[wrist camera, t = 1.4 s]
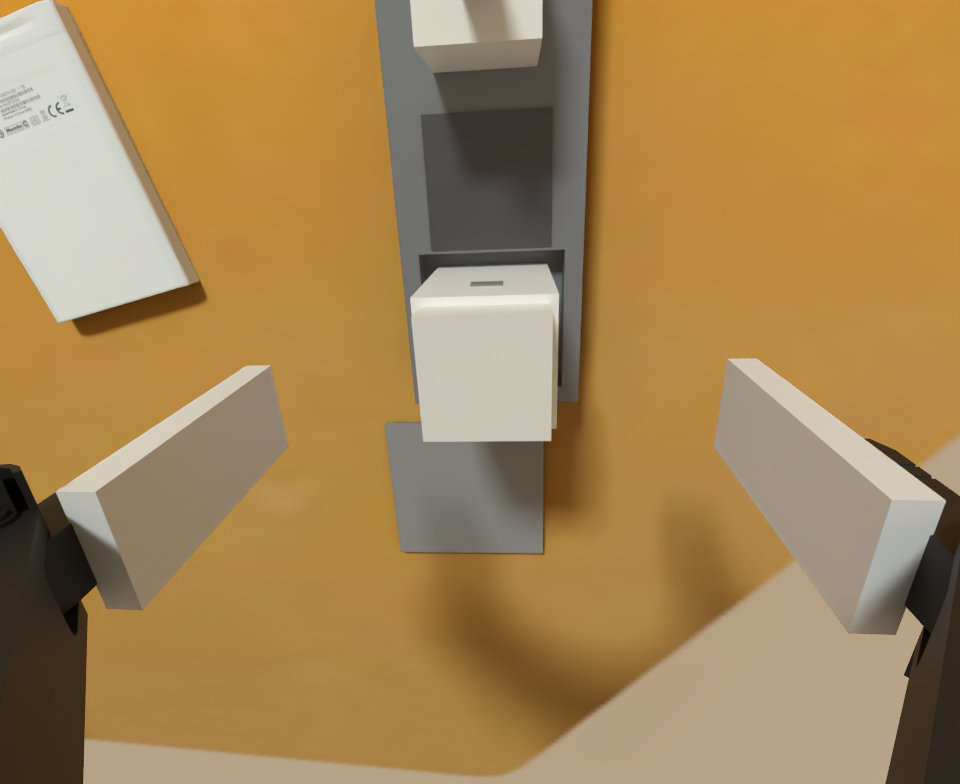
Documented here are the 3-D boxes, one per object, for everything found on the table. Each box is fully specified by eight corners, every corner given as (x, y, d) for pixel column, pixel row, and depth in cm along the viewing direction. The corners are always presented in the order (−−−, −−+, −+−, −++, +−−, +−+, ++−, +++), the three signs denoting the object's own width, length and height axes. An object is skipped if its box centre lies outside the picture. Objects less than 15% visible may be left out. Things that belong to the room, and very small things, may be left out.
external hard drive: (79, 317, 28) (-69, 68, 24) (206, 279, 27) (76, 8, 22) (54, 325, 27) (-108, 60, 22) (187, 285, 25) (44, -5, 21)
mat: (402, 547, 32) (401, 551, 32) (386, 422, 29) (385, 425, 28) (542, 549, 31) (543, 553, 31) (543, 421, 28) (543, 424, 28)
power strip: (571, 379, 27) (600, 481, 18) (425, 381, 28) (380, 481, 18) (598, -525, 15) (722, -1577, 6) (346, -486, 16) (118, -1389, 7)
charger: (446, 366, 25) (415, 449, 17) (438, 264, 23) (400, 306, 15) (545, 364, 25) (559, 448, 17) (546, 261, 23) (563, 301, 15)
